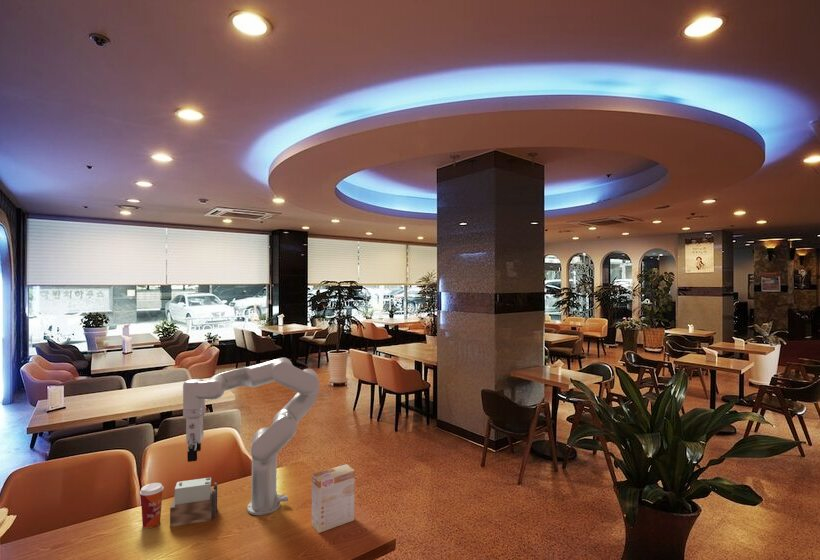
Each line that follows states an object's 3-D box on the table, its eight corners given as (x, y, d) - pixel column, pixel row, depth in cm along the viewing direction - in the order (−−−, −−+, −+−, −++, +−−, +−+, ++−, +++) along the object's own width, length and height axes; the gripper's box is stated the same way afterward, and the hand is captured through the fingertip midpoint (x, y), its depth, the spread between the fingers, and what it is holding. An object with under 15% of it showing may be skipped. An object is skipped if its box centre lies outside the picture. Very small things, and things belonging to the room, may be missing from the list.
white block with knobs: (211, 492, 174) (211, 475, 173) (209, 499, 168) (209, 482, 168) (177, 497, 169) (177, 479, 169) (174, 504, 164) (174, 486, 164)
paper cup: (152, 531, 159) (152, 492, 159) (134, 528, 160) (134, 490, 160) (168, 519, 166) (168, 482, 166) (150, 517, 168) (151, 480, 168)
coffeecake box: (346, 512, 173) (346, 463, 173) (354, 520, 167) (355, 470, 167) (310, 524, 164) (311, 473, 164) (318, 533, 158) (319, 480, 158)
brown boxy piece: (217, 506, 176) (217, 480, 176) (214, 519, 166) (214, 492, 166) (175, 512, 171) (175, 486, 171) (169, 526, 162) (170, 498, 162)
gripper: (201, 417, 161) (201, 463, 162) (207, 404, 178) (207, 446, 178) (179, 419, 159) (179, 466, 159) (187, 406, 175) (187, 448, 176)
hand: (194, 456), depth 169 cm, fingers open, 9 cm apart
